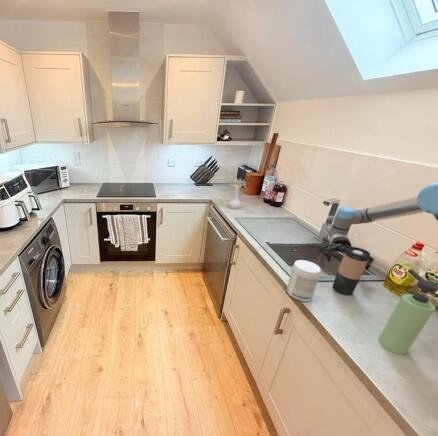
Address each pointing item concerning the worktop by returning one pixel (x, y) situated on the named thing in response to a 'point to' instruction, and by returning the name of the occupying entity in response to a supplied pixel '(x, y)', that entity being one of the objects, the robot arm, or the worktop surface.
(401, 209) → the robot arm
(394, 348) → the soap bottle
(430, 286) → the pump head
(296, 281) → the supplement tub
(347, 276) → the travel mug
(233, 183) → the flower vase
